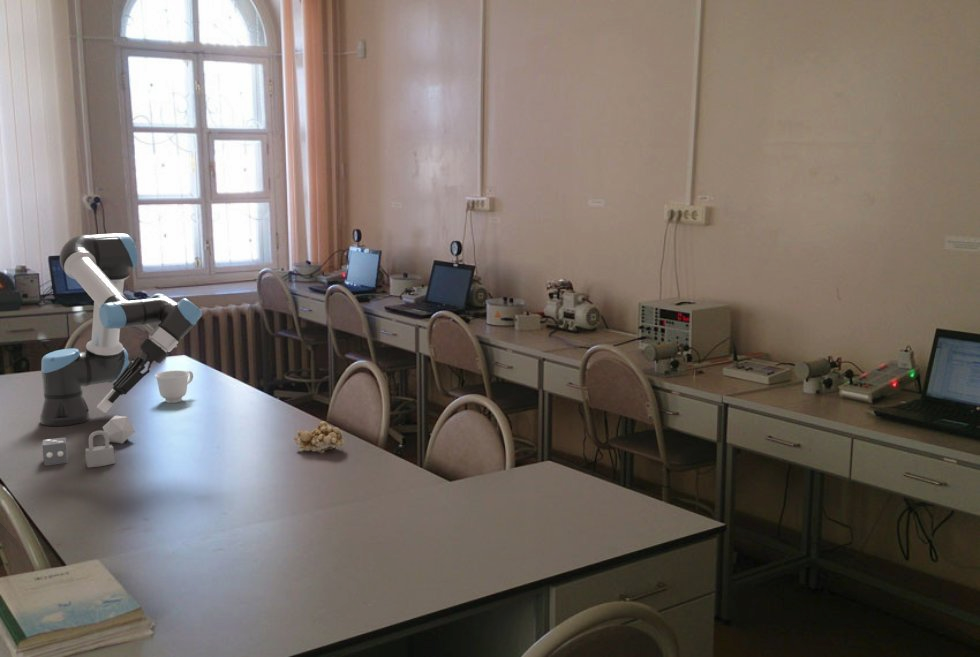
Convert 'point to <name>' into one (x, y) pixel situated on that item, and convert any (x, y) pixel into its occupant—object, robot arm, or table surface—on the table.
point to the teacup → (173, 384)
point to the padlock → (99, 452)
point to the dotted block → (54, 451)
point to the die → (118, 429)
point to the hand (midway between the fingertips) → (100, 409)
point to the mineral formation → (319, 438)
